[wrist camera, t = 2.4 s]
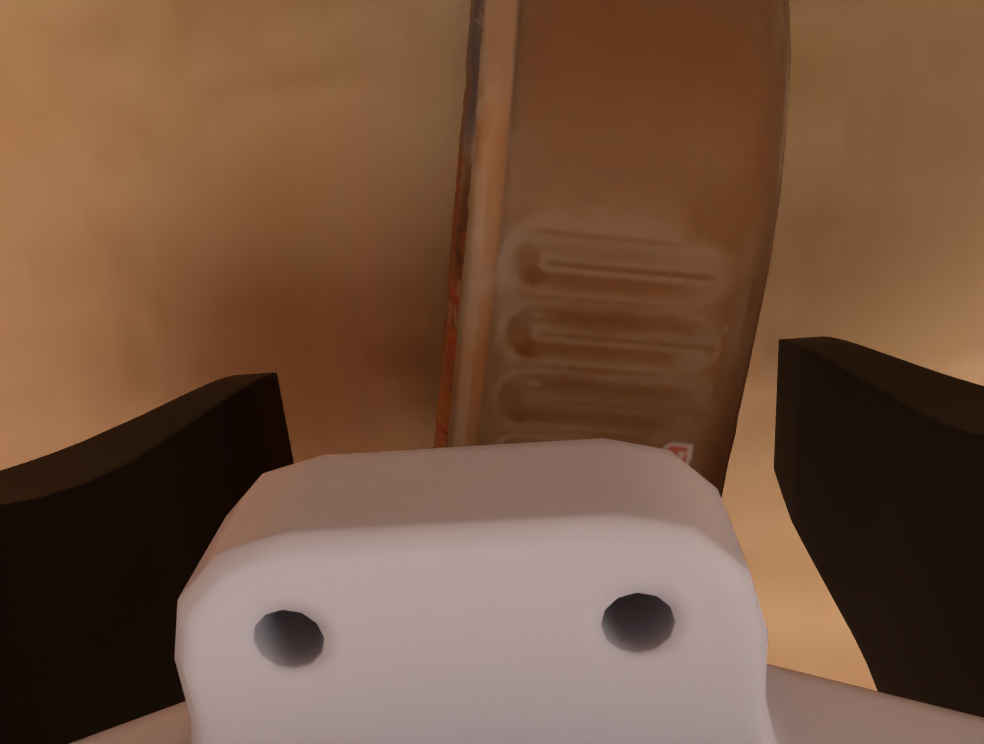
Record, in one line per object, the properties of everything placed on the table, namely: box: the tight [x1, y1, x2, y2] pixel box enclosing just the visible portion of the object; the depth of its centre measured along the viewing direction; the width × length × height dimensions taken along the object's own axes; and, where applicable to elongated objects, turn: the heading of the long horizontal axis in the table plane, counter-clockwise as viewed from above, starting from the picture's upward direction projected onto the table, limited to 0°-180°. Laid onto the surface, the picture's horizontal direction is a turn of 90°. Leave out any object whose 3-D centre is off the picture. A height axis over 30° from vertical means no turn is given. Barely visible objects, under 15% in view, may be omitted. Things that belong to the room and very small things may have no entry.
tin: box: [434, 0, 791, 497], centre depth 12 cm, size 15×3×8 cm, turn 174°
